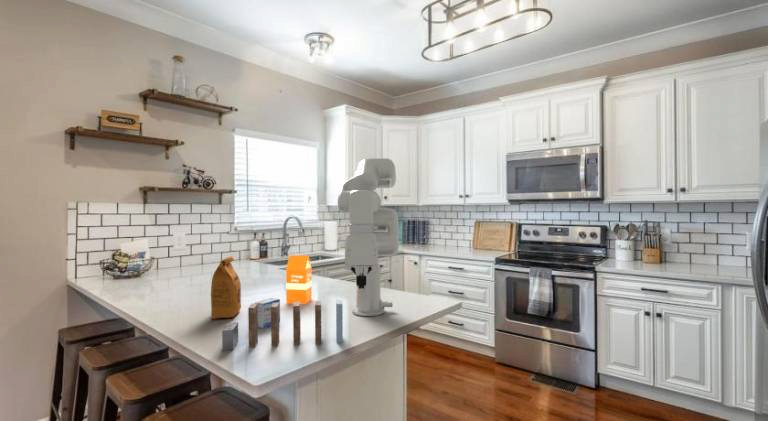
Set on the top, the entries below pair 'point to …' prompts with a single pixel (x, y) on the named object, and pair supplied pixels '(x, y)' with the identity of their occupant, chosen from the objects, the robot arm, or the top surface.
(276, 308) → the domino
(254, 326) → the domino
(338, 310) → the domino
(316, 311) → the domino
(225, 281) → the coffee package
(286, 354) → the top surface
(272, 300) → the medicine box
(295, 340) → the domino
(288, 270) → the orange juice
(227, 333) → the block
